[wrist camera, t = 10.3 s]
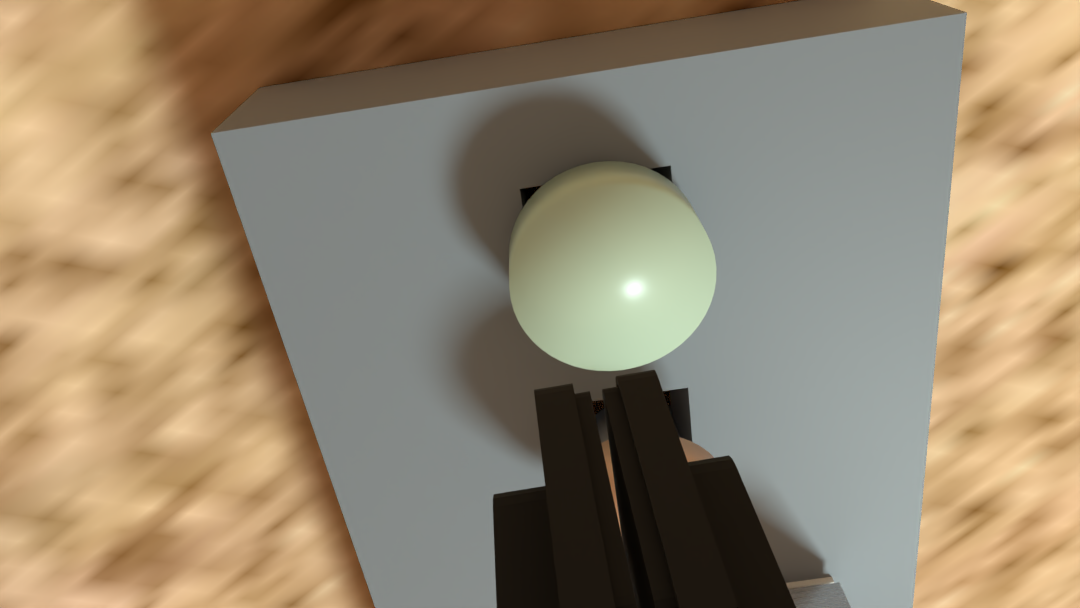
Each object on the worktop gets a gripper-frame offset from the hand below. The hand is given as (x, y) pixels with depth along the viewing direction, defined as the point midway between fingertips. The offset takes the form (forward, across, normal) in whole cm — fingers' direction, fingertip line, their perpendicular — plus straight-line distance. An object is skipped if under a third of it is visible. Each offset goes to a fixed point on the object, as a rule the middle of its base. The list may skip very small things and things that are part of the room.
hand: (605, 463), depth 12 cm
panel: (+12, -1, +8) cm, 15 cm away
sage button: (+11, -1, +1) cm, 11 cm away
